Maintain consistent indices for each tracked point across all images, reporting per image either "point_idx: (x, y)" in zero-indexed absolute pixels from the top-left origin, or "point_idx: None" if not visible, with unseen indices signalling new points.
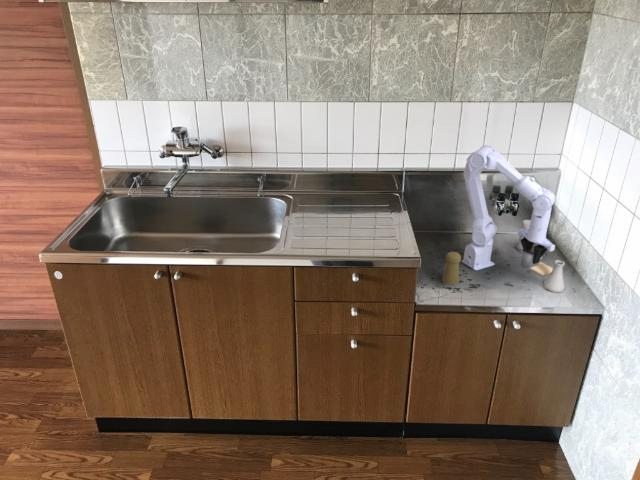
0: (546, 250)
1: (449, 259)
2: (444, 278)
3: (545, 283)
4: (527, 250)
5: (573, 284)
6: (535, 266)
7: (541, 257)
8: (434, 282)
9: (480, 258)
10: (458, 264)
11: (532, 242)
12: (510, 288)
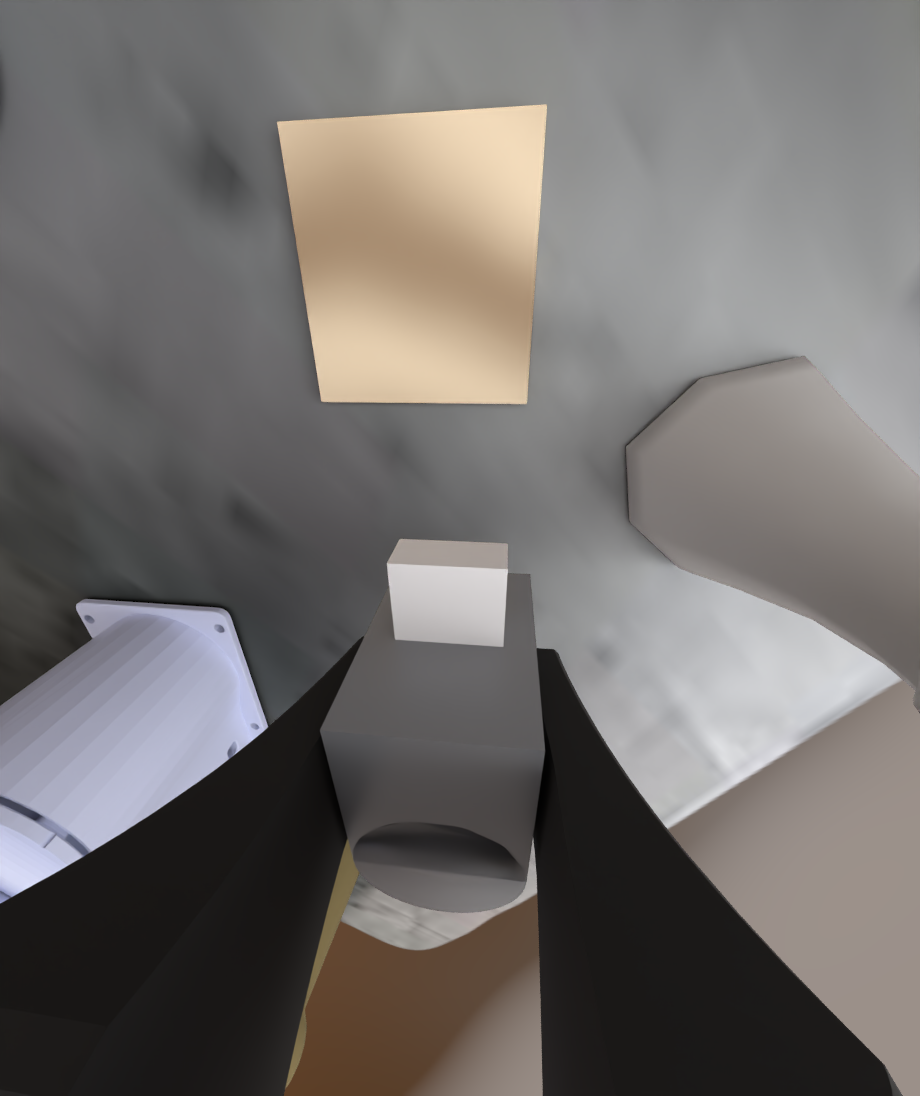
0: (755, 946)
1: None
2: None
3: (682, 560)
4: (355, 834)
5: (900, 179)
6: (359, 321)
7: (507, 562)
8: None
9: (197, 776)
10: None
11: (226, 966)
12: None
